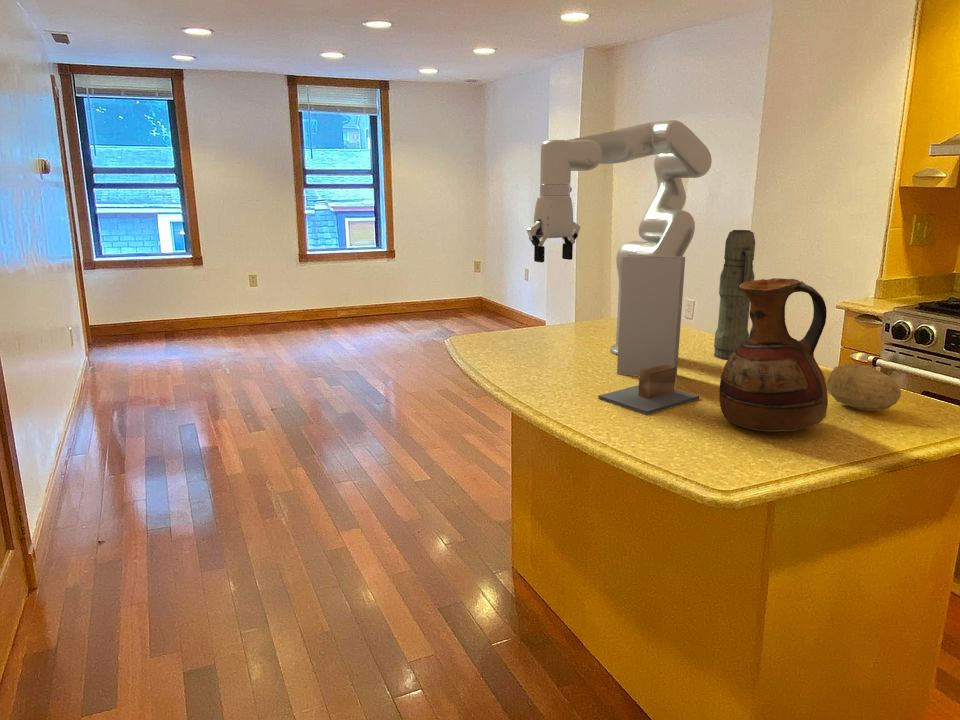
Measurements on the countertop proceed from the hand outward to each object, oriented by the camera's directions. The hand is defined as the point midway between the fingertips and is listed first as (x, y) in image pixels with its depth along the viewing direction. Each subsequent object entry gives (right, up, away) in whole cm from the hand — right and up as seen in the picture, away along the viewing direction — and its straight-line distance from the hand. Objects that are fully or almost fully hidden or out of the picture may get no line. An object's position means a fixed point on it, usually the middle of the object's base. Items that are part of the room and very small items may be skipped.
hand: (553, 260), depth 177 cm
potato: (+64, -36, -27) cm, 78 cm away
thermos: (+52, -25, +18) cm, 60 cm away
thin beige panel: (+24, -29, 0) cm, 38 cm away
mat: (+20, -34, -20) cm, 44 cm away
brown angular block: (+22, -33, -19) cm, 44 cm away
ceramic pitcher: (+40, -39, -36) cm, 67 cm away
